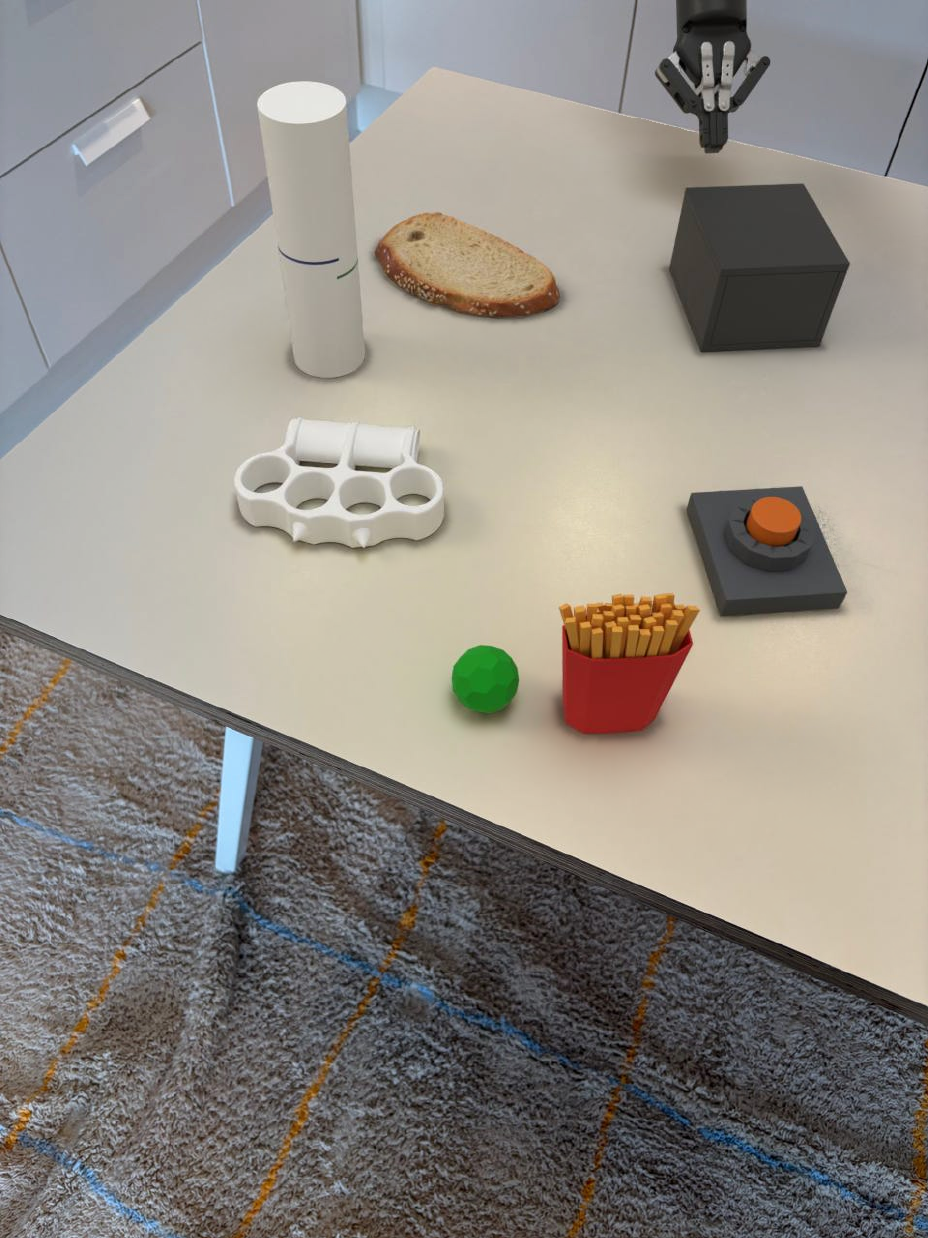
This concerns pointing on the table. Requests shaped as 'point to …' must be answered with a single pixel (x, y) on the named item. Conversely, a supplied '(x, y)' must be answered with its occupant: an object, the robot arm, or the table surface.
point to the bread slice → (465, 268)
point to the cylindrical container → (314, 223)
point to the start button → (773, 521)
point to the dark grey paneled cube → (756, 267)
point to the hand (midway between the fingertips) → (714, 150)
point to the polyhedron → (485, 679)
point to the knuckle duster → (342, 484)
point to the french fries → (622, 660)
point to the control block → (763, 556)
